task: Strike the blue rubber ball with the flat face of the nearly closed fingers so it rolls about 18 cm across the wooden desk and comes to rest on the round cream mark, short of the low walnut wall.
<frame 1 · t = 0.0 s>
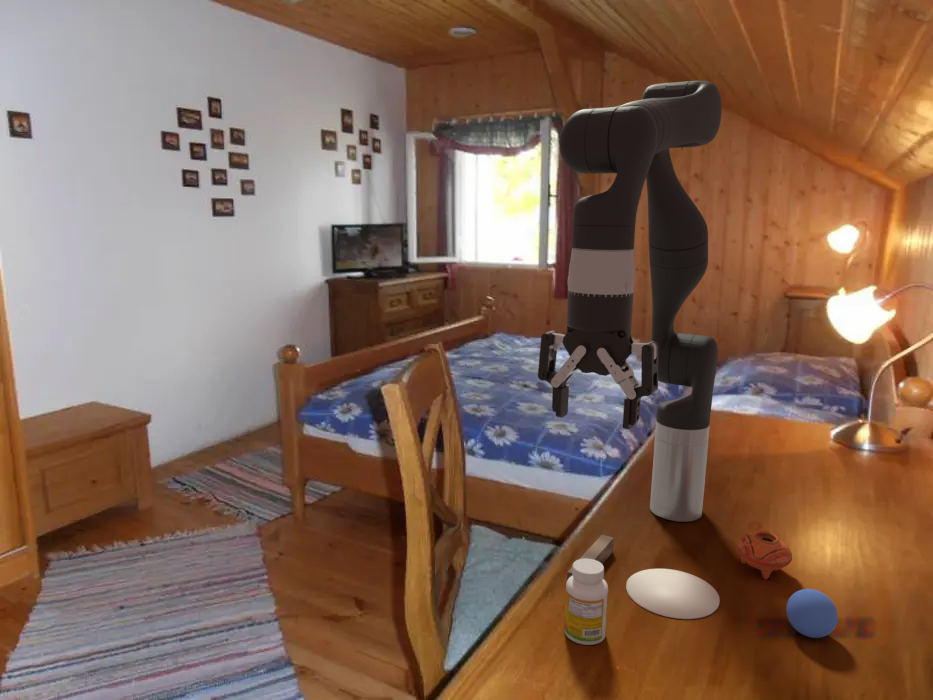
hand: (593, 421, 83), 29 cm above the table, tool pointing down, fingers open, 8 cm apart
ball: (811, 613, 89), on the table
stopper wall: (590, 568, 106), on the table
supplement bottle: (584, 635, 89), on the table
pot: (761, 572, 106), on the table
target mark: (672, 592, 99), on the table
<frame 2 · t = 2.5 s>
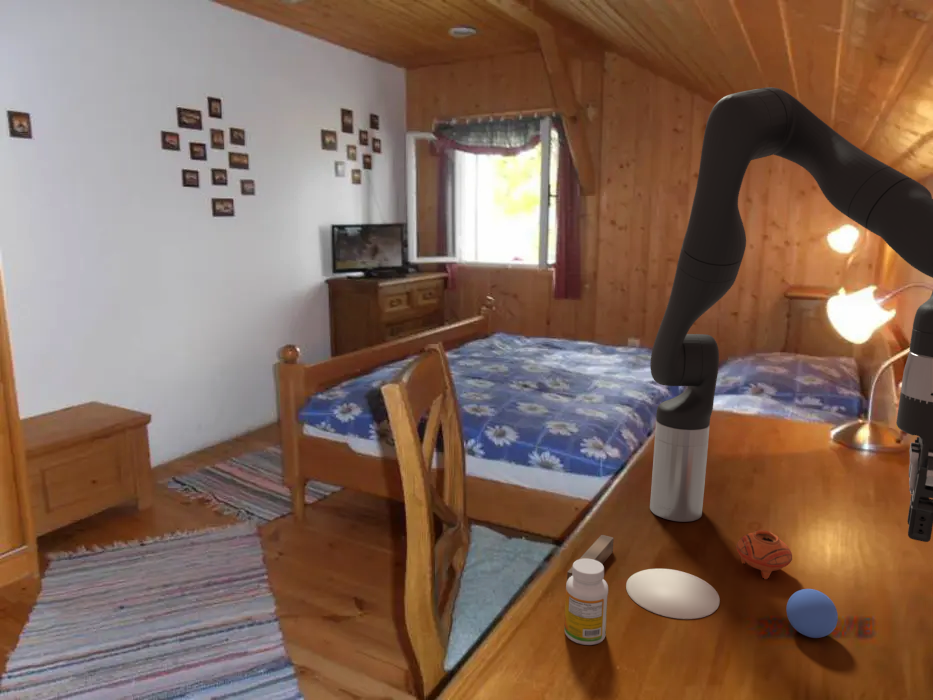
hand: (918, 532, 81), 17 cm above the table, tool pointing down, fingers open, 3 cm apart
nothing on the table moved.
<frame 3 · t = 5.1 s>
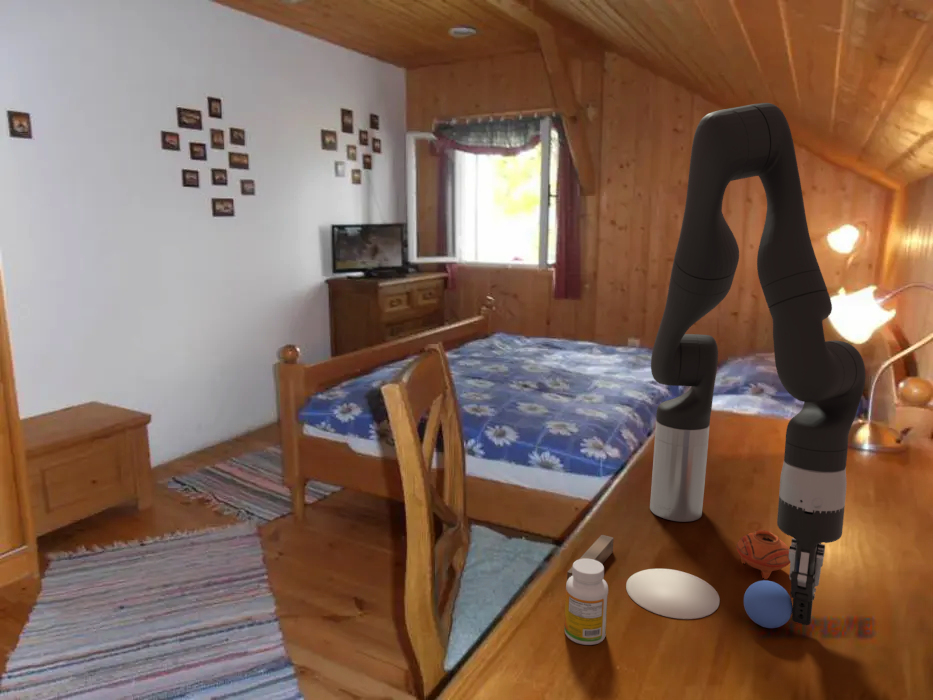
hand: (801, 621, 90), 2 cm above the table, tool pointing down, fingers closed
ball: (767, 603, 91), on the table, touching gripper
everything else where it was.
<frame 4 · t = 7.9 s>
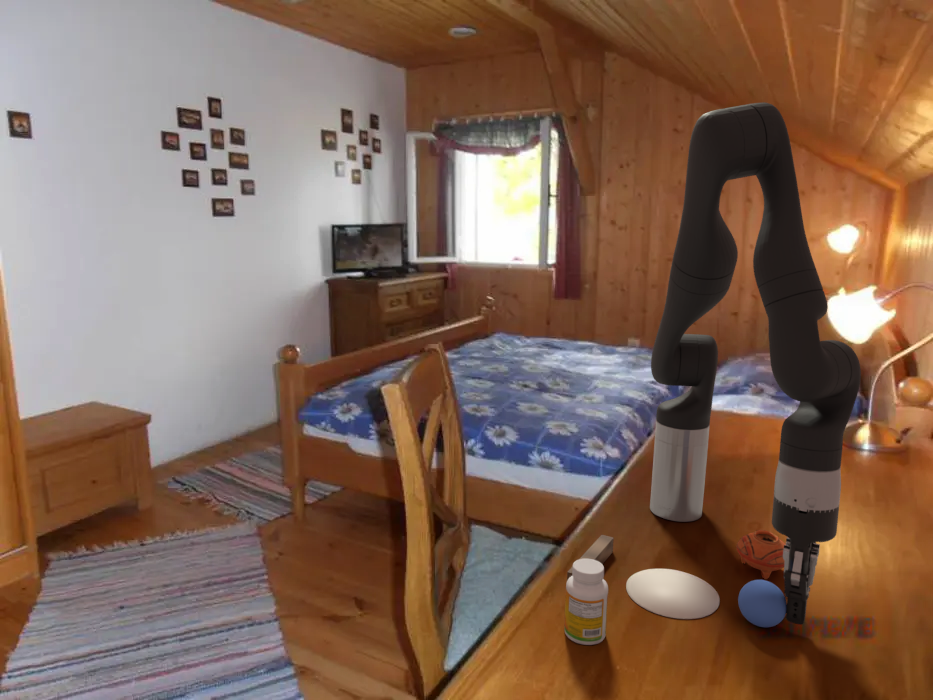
hand: (795, 620, 90), 2 cm above the table, tool pointing down, fingers closed
nothing on the table moved.
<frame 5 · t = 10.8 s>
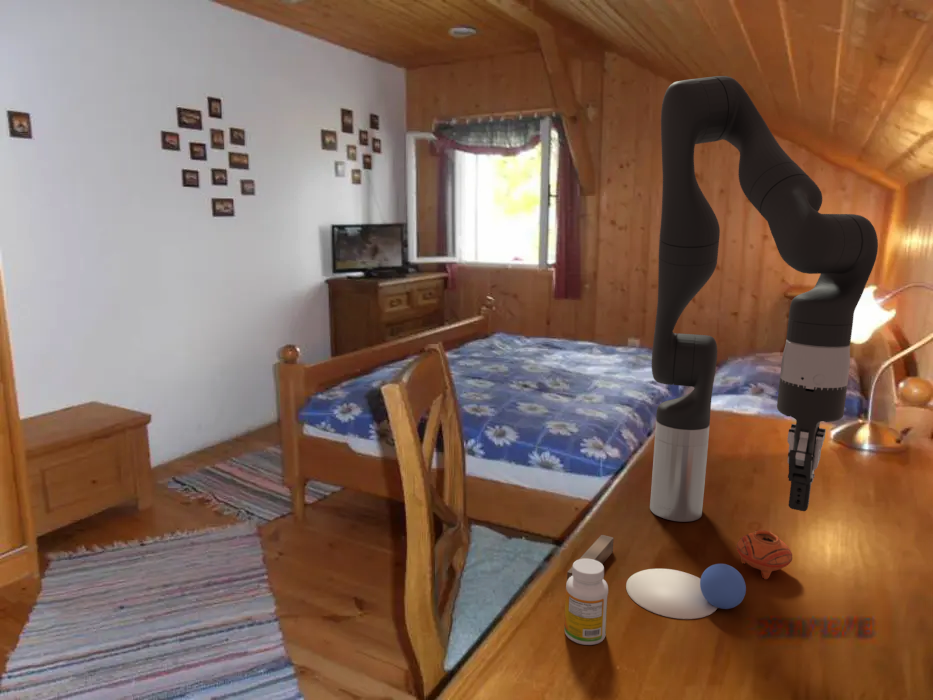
hand: (798, 508, 88), 17 cm above the table, tool pointing down, fingers closed
ball: (722, 586, 96), on the table
everything else where it was.
at the end: ball 6.7 cm from the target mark (horizontally); ball at rest at the end (0.0 cm/s); ball moved 11.3 cm from its start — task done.
